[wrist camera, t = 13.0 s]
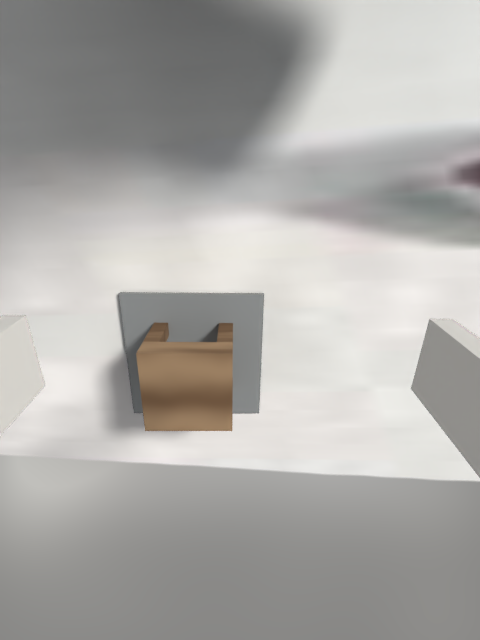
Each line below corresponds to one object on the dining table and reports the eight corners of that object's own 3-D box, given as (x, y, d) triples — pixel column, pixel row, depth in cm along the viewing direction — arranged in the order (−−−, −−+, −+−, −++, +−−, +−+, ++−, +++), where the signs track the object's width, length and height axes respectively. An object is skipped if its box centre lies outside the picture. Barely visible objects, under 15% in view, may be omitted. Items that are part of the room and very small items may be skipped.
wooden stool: (154, 322, 38) (136, 353, 31) (233, 322, 38) (232, 354, 31) (160, 389, 42) (145, 430, 35) (232, 389, 42) (232, 430, 35)
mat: (119, 292, 37) (118, 293, 37) (263, 293, 37) (263, 294, 37) (135, 410, 43) (134, 412, 43) (258, 411, 44) (259, 413, 43)
